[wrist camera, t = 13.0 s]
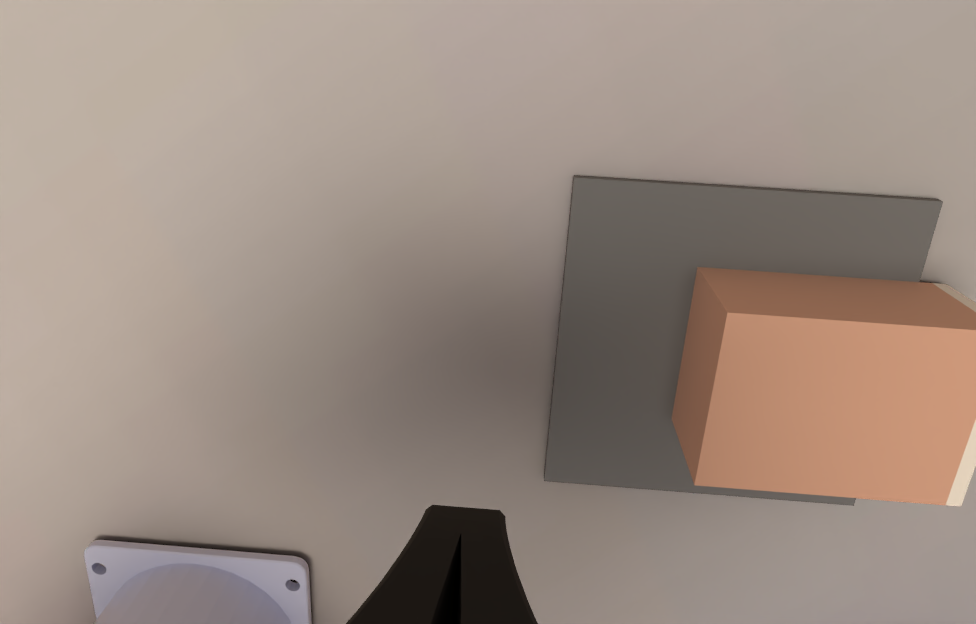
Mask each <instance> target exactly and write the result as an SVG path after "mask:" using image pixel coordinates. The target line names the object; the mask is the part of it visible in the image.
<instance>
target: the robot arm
mask: <svg viewBox="0 0 976 624" xmlns="http://www.w3.org/2000/svg"><path fill="white" fill-rule="evenodd" d="M84 558H85V563H86V569H87V574H88V579H89V584H90V589H91V594H92V600H93V605H94V610H95V615H96V621H95V623H94V624H312V621H311V601H310V580H309V567H308V564H307V563H306V561H305V560H303V559H302V558H300V557H296V556H288V555H276V554H264V553H252V552H240V551H228V550H216V549H204V548H193V547H181V546H169V545H157V544H145V543H133V542H121V541H109V540H95V541H93V542H91V543H90V544H89V545H88V547H87V548H86V549H85V551H84ZM99 563H100V564H99ZM101 564H102V565H104V566H105V567H104V566H102V565H101ZM291 579H293V580H296V581H297V582H298V583H294V582H292V581H291ZM346 624H538V623H537V621H536V619H535V617H534V615H533V612H532V610H531V607H530V605H529V603H528V600H527V597H526V595H525V592H524V589H523V587H522V584H521V581H520V579H519V576H518V573H517V570H516V567H515V564H514V560H513V557H512V553H511V549H510V546H509V541H508V537H507V531H506V524H505V516H504V515H503V513H502V512H501V511H500V510H489V509H477V508H465V507H452V506H440V505H432V506H430V507H429V508H428V509H426V511H425V513H424V515H423V517H422V519H421V521H420V523H419V525H418V527H417V528H416V530H415V532H414V533H413V535H412V537H411V538H410V540H409V542H408V543H407V545H406V546H405V548H404V549H403V551H402V552H401V554H400V555H399V557H398V558H397V560H396V561H395V562H394V564H393V565H392V567H391V568H390V569H389V571H388V572H387V574H386V575H385V576H384V578H383V579H382V581H381V582H380V583H379V585H378V586H377V587H376V588H375V590H374V591H373V592H372V593H371V594H370V596H369V597H368V598H367V599H366V601H365V602H364V603H363V604H362V605H361V607H360V608H359V609H358V610H357V612H356V613H355V614H354V615H353V616H352V617H351V619H350V620H349V621H348V622H347V623H346Z"/></svg>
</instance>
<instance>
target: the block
mask: <svg viewBox="0 0 976 624" xmlns="http://www.w3.org/2000/svg"><path fill="white" fill-rule="evenodd" d="M672 422H673V425H674V427H675V430H676V433H677V436H678V439H679V442H680V445H681V448H682V451H683V454H684V456H685V459H686V462H687V465H688V468H689V471H690V474H691V477H692V480H693V483H694V485H697V486H709V487H722V488H734V489H747V490H760V491H772V492H785V493H798V494H810V495H823V496H836V497H848V498H861V499H873V500H886V501H899V502H911V503H924V504H937V505H949V506H961V505H962V502H963V499H964V497H965V494H966V491H967V488H968V485H969V483H970V480H971V477H972V474H973V472H974V469H975V466H976V303H975V302H973V301H972V300H970V299H969V298H967V297H966V296H964V295H963V294H961V293H959V292H958V291H956V290H955V289H953V288H952V287H950V286H949V285H947V284H938V283H923V282H909V281H894V280H880V279H865V278H851V277H836V276H822V275H807V274H793V273H778V272H764V271H749V270H735V269H720V268H706V267H697V272H696V278H695V284H694V290H693V296H692V302H691V308H690V313H689V319H688V325H687V331H686V337H685V343H684V349H683V354H682V360H681V366H680V372H679V378H678V384H677V390H676V396H675V401H674V407H673V413H672Z"/></svg>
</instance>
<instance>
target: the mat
mask: <svg viewBox="0 0 976 624" xmlns="http://www.w3.org/2000/svg"><path fill="white" fill-rule="evenodd" d="M942 203H943V201H941V200H938V199H929V198H914V197H898V196H883V195H868V194H852V193H837V192H821V191H806V190H791V189H775V188H760V187H744V186H729V185H714V184H698V183H683V182H667V181H652V180H637V179H621V178H606V177H590V176H575V175H574V177H573V187H572V198H571V208H570V218H569V228H568V238H567V249H566V259H565V269H564V279H563V289H562V300H561V310H560V320H559V330H558V341H557V351H556V361H555V371H554V381H553V392H552V402H551V412H550V422H549V432H548V443H547V453H546V463H545V473H544V481H550V482H563V483H575V484H588V485H601V486H613V487H626V488H638V489H651V490H664V491H676V492H689V493H701V494H714V495H727V496H739V497H752V498H764V499H777V500H790V501H802V502H815V503H827V504H840V505H853V506H854V503H855V500H856V498H848V497H836V496H823V495H810V494H798V493H785V492H772V491H760V490H747V489H734V488H722V487H709V486H697V485H694V483H693V480H692V477H691V474H690V471H689V468H688V465H687V462H686V459H685V456H684V454H683V451H682V448H681V445H680V442H679V439H678V436H677V433H676V430H675V427H674V425H673V422H672V413H673V407H674V401H675V396H676V390H677V384H678V378H679V372H680V366H681V360H682V354H683V349H684V343H685V337H686V331H687V325H688V319H689V313H690V308H691V302H692V296H693V290H694V284H695V278H696V272H697V267H706V268H720V269H735V270H749V271H764V272H778V273H793V274H807V275H822V276H836V277H851V278H865V279H880V280H894V281H909V282H920V278H921V275H922V271H923V268H924V265H925V261H926V258H927V254H928V251H929V248H930V244H931V241H932V237H933V234H934V230H935V227H936V224H937V220H938V217H939V213H940V210H941V207H942Z"/></svg>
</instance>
